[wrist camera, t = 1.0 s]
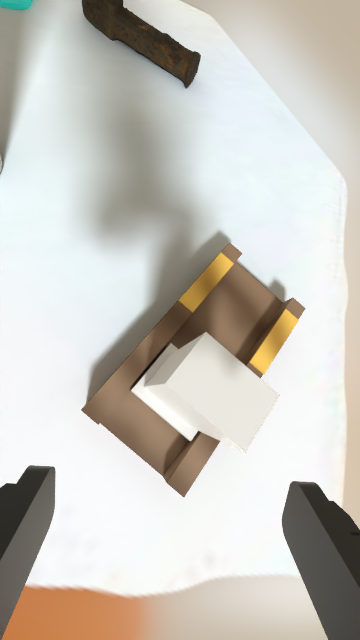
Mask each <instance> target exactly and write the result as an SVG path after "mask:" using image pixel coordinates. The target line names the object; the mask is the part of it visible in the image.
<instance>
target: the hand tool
mask: <svg viewBox="0 0 360 640" xmlns="http://www.w3.org/2000/svg"><path fill="white" fill-rule="evenodd" d="M82 7H83V13H84V16H85V17H86V18H87V19H88V20H89V21H90V22H91V23H92V24H93V25H94V26H95V27H96V28H97V29H99V30H100V31H101V32H102V33H104V34H105V35H106V36H107V37H108V38H109V39H111V40H117V39H118V40H121V41H123V42H124V43H126V44H127V45H129V46H130V47H132V48H133V49H135V50H136V51H137V52H139V53H142V54H143V55H144V56H146V57H147V58H149V59H150V60H152V61H153V62H155V63H156V64H158V65H159V66H161V67H162V68H164V69H165V70H167V71H168V72H170V73H171V74H173V75H174V76H176V77H178V78H180V79H181V80H182V81H183V82H184V84H185V88H188V86H189V85H190V84H191V83H192V81H193V79H194V77H195V75H196V73H197V70H198V66H199V62H200V57H201V55H200V54H199V53H198V52H195V51H194V52H192V51H191V50H188V49H187V48H185V47H184V46H182V45H181V44H179V42H177V41H175V40H174V39H173V38H171V37H170V36H169V35H168V34H167V33H162V32H160V31H159V30H157V29H156V28H154V27H153V26H151V25H149V24H148V23H146V22H145V21H143V20H142V19H140V18H139V17H138V16H136V15H135V14H133V13H132V12H130V11H129V10H128V9H127V8H124V7H123V0H82Z"/></svg>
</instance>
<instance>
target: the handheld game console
mask: <svg viewBox="0 0 360 640" xmlns="http://www.w3.org/2000/svg"><path fill="white" fill-rule="evenodd" d="M32 1H33V0H0V6H2V7H6V8H10V9H19V10H23V9H28V8H30V6H31V4H32Z"/></svg>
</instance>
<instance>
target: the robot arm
mask: <svg viewBox="0 0 360 640" xmlns="http://www.w3.org/2000/svg"><path fill="white" fill-rule="evenodd" d="M1 169H2V156H1V154H0V172H1ZM54 507H55V468H54V467H49V466H32V465H30V466H29V467H28V468H27V469H26V470H25V472H24V473H23V475H22V476H21V478H20V479H19V481H18V482H17V484H11V483H6V484H5V485H4V486H2V487H1V488H0V640H1V639H2V636H3V634H4V632H5V629H6V627H7V625H8V622H9V620H10V618H11V616H12V613H13V611H14V609H15V606H16V604H17V602H18V599H19V597H20V595H21V592H22V590H23V588H24V585H25V583H26V581H27V578H28V576H29V574H30V571H31V569H32V567H33V564H34V562H35V560H36V557H37V555H38V553H39V550H40V548H41V546H42V543H43V541H44V539H45V536H46V534H47V532H48V529H49V527H50V524H51V521H52V517H53V513H54ZM282 527H283V533H284V536H285V539H286V542H287V544H288V546H289V549H290V551H291V553H292V556H293V558H294V560H295V563H296V565H297V567H298V570H299V572H300V574H301V577H302V579H303V581H304V584H305V586H306V588H307V591H308V593H309V595H310V598H311V600H312V602H313V605H314V607H315V610H316V612H317V614H318V617H319V619H320V621H321V624H322V626H323V628H324V631H325V633H326V635H327V637H328V640H360V530H359V528H358V527H357V525H356V524H355V523H354V521H353V520H352V518H351V517H350V516H349V515H348V514H347V513H346V512H345V511H344V510H343V509H342V508H340V507H339V506H338V505H337V504H336V503H335V502H334V501H329V500H328V499H327V497H326V496H325V494H324V493H323V491H322V490H321V488H320V487H319V486H318V485H317V484H316V483H314V482H298V481H293V482H292V483H291V484H290V487H289V491H288V495H287V499H286V503H285V507H284V511H283V516H282Z"/></svg>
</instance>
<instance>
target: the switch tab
mask: <svg viewBox="0 0 360 640" xmlns="http://www.w3.org/2000/svg"><path fill="white" fill-rule="evenodd" d="M130 391H131V392H132V393H134V394H135V395H136V396H137V397H138V398H139V399H141V400H142V401H143V402H144V403H145V404H146V405H148V406H149V407H150V408H151V409H152V410H153V411H155V412H156V413H157V414H158V415H159V416H160V417H162V418H163V419H164V420H165V421H166V422H167V423H169V424H170V425H171V426H172V427H173V428H175V429H176V430H177V431H178V432H179V433H180V434H182V435H183V436H184V437H185V438H186V439H188V440H189V441H192V439H193V438H194V436H195V435H196V433H197V432H198V431H200V432H202V433H204V434H206V435H209V436H211V437H213V438H215V439H217V440H219V441H222V442H224V443H226V444H228V445H230V446H232V447H234V448H237V449H239V450H241V451H243V452H245V453H246V451H247V449H248V448H249V446H250V444H251V443H252V441H253V439H254V438H255V436H256V434H257V433H258V431H259V429H260V427H261V426H262V424H263V422H264V421H265V419H266V417H267V416H268V414H269V412H270V411H271V409H272V407H273V406H274V404H275V402H276V401H277V399H278V397H279V396H280V395H279V394H278V393H276V392H275V391H274V390H273V389H272V388H271V387H269V386H268V385H267V384H266V383H265V382H264V381H263V380H261V379H260V378H259V377H258V376H257V375H256V374H254V373H253V372H252V371H251V370H250V369H249V368H247V367H246V366H245V365H244V364H243V363H242V362H241V361H239V360H238V359H237V358H236V357H235V356H234V355H232V354H231V353H230V352H229V351H228V350H227V349H225V348H224V347H223V346H222V345H221V344H220V343H219V342H217V341H216V340H215V339H214V338H213V337H212V336H210V335H209V334H208V333H207V332H205V333H203V334H202V335H200V336H199V337H197V338H196V339H194V340H193V341H191V342H189V343H188V344H186V345H185V346H183V347H182V348H180V349H177V348H176V347H175V346H174V345H173V344H172V343H170V344H169V345H168V346H167V347H166V348H165V349H164V351H163V352H162V353H161V354H160V355H159V357H158V358H157V359H156V360H155V361H154V363H153V364H152V365H151V366H150V367H149V369H148V370H147V371H146V372H145V373H144V374H143V376H142V377H141V378H140V379H139V380H138V382H137V383H136V384H135V385H134V386H133V388H132V389H131V390H130Z"/></svg>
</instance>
